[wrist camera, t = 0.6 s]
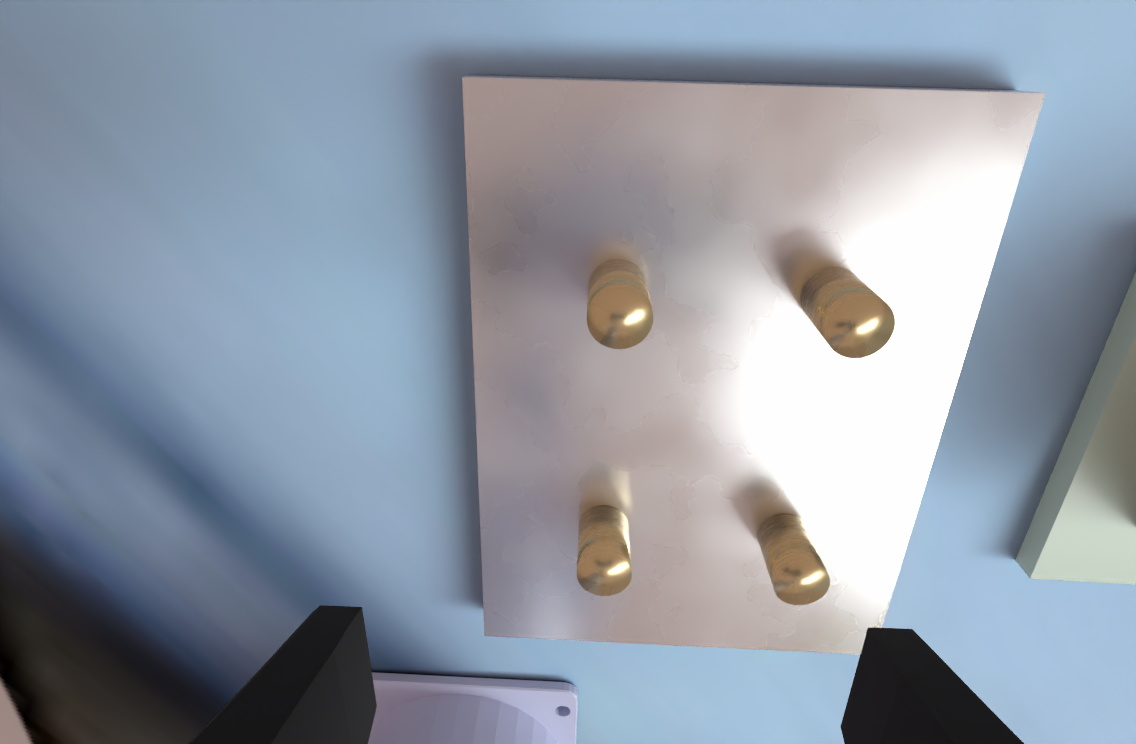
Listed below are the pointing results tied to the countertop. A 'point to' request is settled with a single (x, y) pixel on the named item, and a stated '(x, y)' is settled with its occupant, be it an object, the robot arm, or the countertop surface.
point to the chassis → (719, 345)
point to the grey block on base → (1094, 476)
